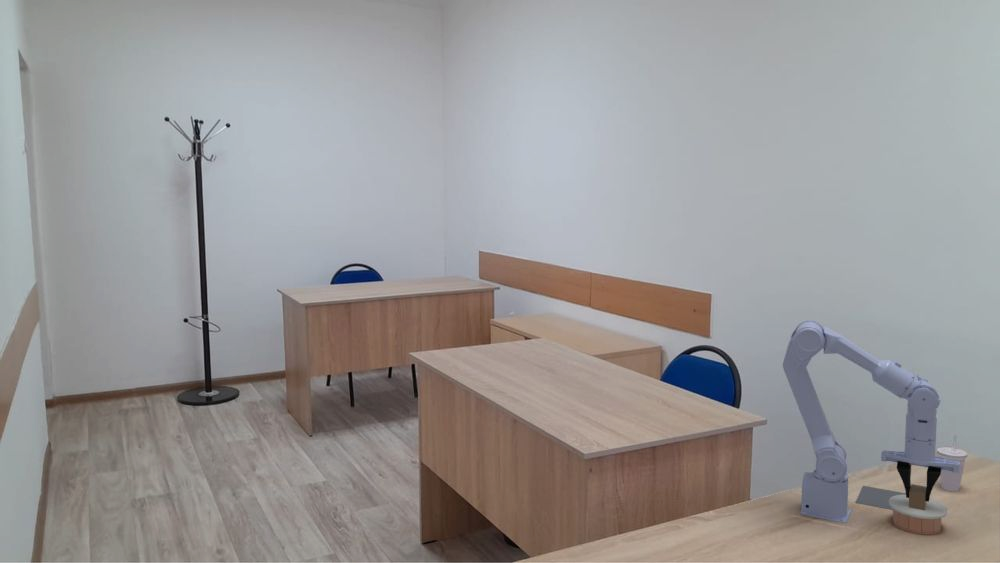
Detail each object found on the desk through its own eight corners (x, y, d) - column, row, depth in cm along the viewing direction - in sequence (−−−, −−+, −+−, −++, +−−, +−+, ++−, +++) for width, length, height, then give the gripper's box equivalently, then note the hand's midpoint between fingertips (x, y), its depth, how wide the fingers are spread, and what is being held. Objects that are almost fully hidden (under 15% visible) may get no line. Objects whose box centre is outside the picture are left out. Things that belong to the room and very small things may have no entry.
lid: (885, 511, 156) (886, 492, 156) (891, 494, 166) (892, 476, 165) (945, 523, 150) (946, 503, 150) (948, 504, 159) (949, 485, 159)
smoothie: (964, 497, 173) (966, 439, 171) (933, 491, 177) (935, 435, 175) (966, 488, 178) (969, 432, 177) (936, 482, 182) (938, 428, 180)
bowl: (890, 529, 157) (891, 511, 156) (895, 514, 164) (896, 497, 164) (939, 539, 152) (940, 521, 151) (942, 523, 159) (942, 505, 159)
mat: (855, 504, 170) (855, 502, 170) (862, 487, 180) (863, 485, 180) (913, 515, 164) (914, 513, 163) (918, 497, 173) (918, 495, 173)
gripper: (961, 437, 155) (958, 498, 157) (884, 427, 163) (882, 485, 165) (959, 446, 149) (956, 510, 151) (880, 435, 157) (878, 495, 159)
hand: (917, 498), depth 157 cm, fingers closed on lid, 3 cm apart
